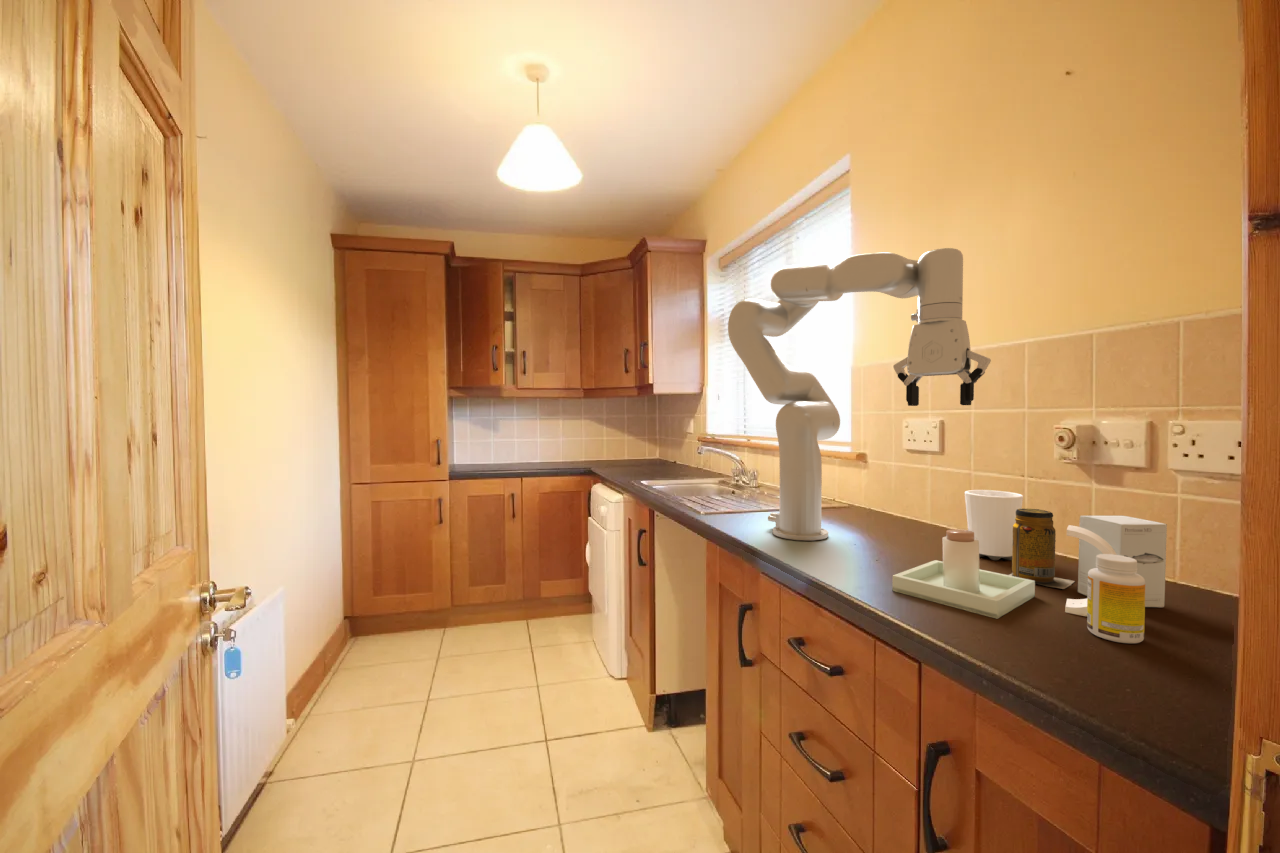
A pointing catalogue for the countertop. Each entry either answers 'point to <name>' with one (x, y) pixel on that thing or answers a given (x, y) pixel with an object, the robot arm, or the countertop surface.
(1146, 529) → the supplement box
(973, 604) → the tray
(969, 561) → the shaker
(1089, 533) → the headphone stand
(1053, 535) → the condiment
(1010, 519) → the cup
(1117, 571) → the supplement bottle
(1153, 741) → the countertop surface
